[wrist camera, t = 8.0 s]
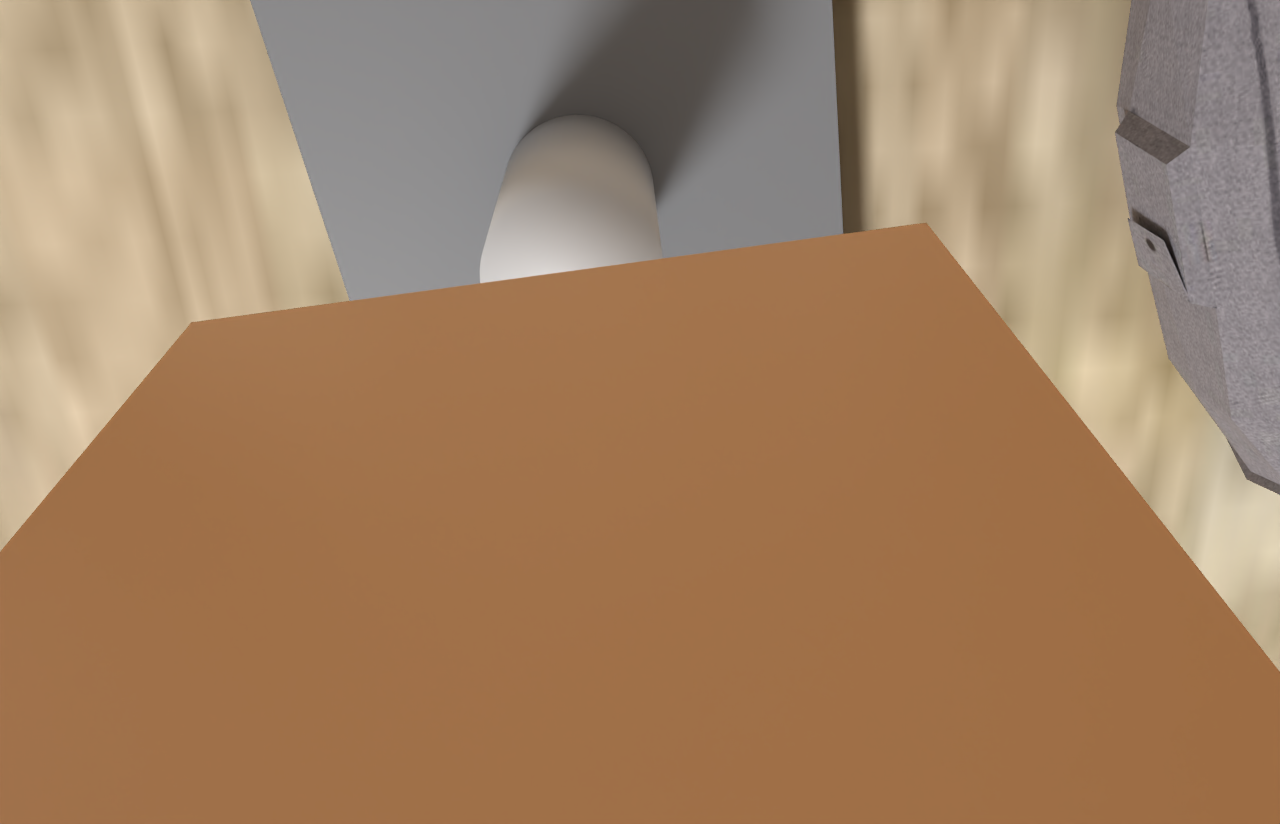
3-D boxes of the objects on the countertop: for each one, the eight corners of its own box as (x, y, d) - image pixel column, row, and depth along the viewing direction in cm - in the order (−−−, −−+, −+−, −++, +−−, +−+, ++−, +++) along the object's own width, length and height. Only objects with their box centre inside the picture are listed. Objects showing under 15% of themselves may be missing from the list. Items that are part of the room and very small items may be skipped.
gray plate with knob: (813, -153, 24) (888, -142, 18) (840, 354, 31) (900, 493, 25) (253, -56, 25) (129, -11, 18) (405, 417, 32) (354, 568, 25)
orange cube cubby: (925, 222, 10) (1443, 881, 4) (918, 738, 13) (1166, 1478, 7) (191, 322, 10) (-434, 1073, 4) (385, 798, 14) (212, 1552, 8)
